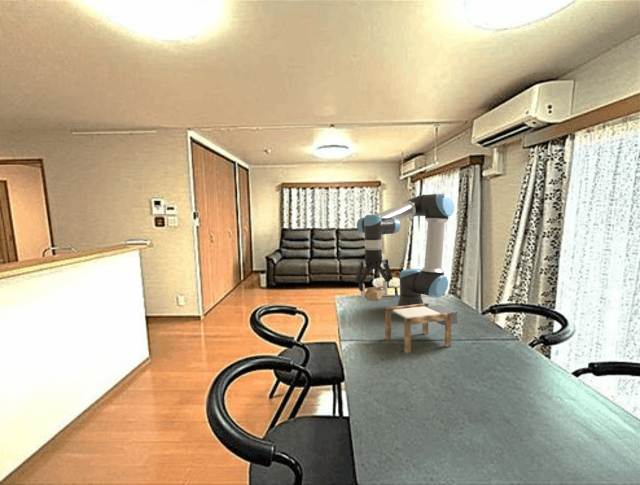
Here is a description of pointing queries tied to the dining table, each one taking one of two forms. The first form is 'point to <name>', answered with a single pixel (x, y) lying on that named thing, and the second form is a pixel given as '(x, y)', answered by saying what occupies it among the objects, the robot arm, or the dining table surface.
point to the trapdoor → (427, 312)
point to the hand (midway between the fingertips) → (374, 296)
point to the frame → (417, 320)
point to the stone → (374, 294)
